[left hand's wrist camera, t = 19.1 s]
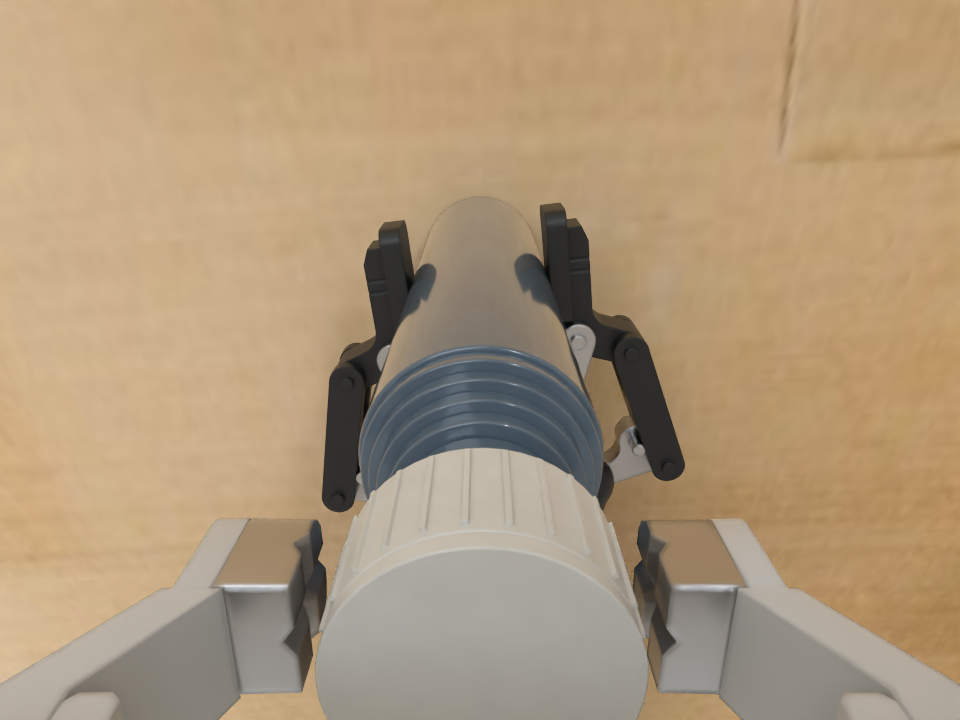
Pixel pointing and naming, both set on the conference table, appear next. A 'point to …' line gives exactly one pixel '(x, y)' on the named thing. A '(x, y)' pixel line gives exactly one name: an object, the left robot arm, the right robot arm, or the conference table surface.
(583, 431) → the bottle
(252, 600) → the left robot arm
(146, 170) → the conference table surface
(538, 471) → the cap
